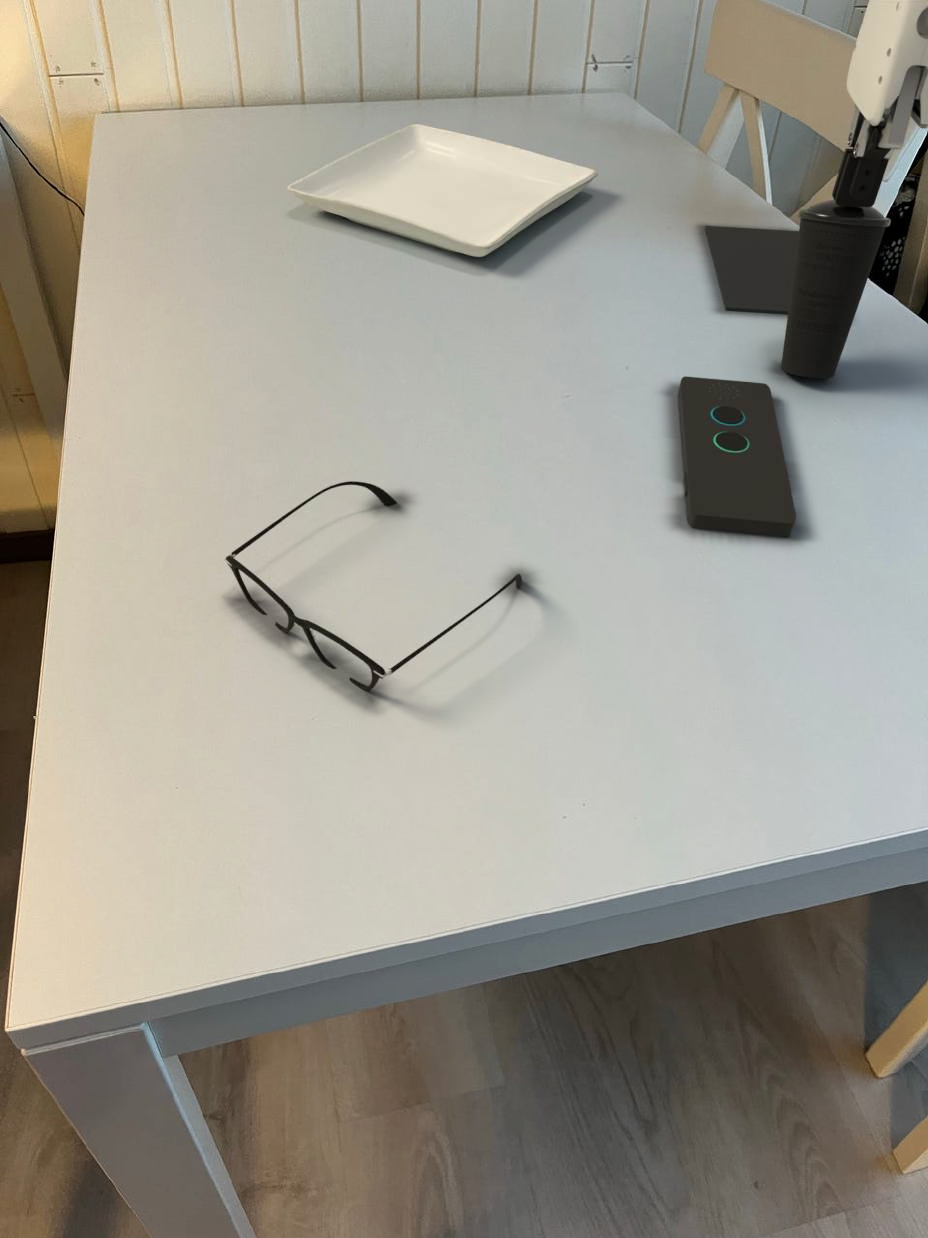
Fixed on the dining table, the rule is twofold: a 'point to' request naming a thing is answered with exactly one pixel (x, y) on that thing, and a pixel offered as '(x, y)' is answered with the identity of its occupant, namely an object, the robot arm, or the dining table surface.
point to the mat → (753, 267)
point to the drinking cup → (828, 284)
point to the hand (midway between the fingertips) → (852, 201)
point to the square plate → (443, 188)
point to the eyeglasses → (306, 625)
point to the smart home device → (733, 458)
